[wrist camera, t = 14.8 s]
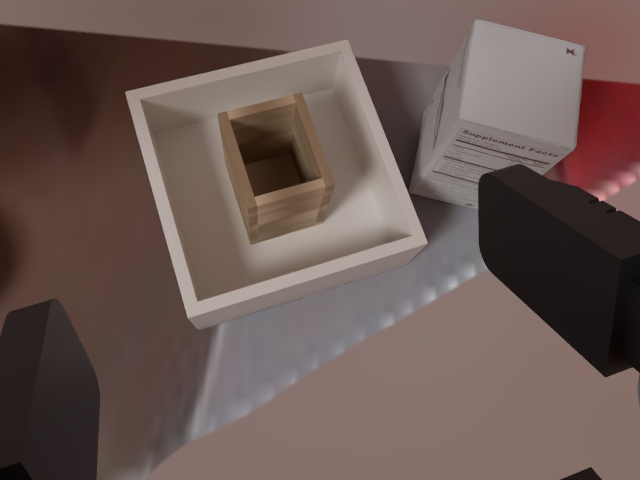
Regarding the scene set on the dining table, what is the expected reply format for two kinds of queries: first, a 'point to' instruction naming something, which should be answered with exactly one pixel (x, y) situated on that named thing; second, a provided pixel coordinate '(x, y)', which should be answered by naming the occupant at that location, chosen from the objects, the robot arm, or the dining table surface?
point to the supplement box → (498, 111)
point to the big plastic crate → (220, 202)
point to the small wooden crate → (276, 167)
